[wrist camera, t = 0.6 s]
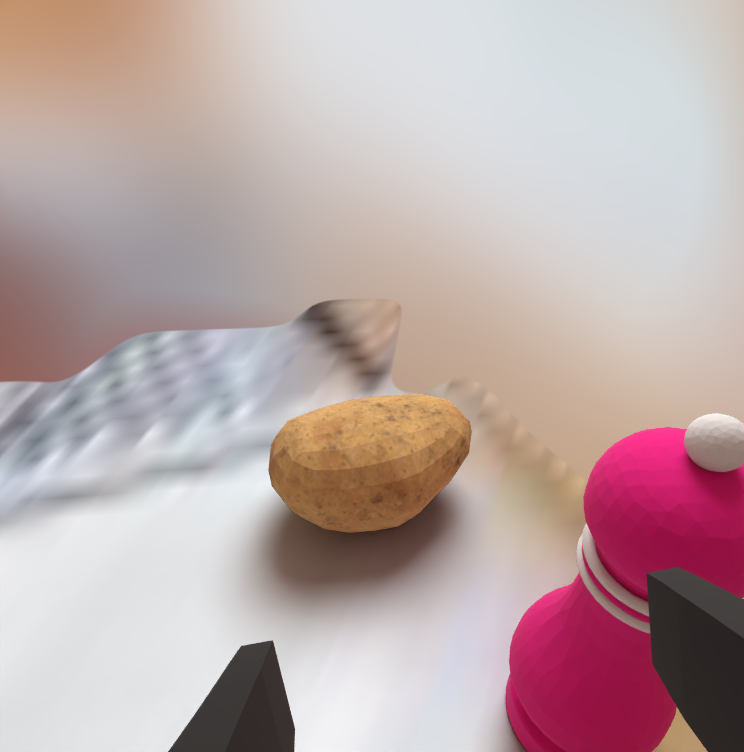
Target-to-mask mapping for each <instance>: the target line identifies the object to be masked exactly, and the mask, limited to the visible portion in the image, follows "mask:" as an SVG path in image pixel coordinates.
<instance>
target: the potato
mask: <svg viewBox="0 0 744 752" xmlns="http://www.w3.org/2000/svg"><path fill="white" fill-rule="evenodd" d="M471 433H472V431H471V426H470V421H469V420H468V419H467V418H466V417H465V416H464V415H463V414H462V413H461V412H460V411H459V410H458V408H457V407H456V406H455V405H454V404H453V403H451V402H450V401H448V400H446V399H442V398H437V397H433V396H428V395H424V394H409V395H393V396H380V397H369V398H361V399H353V400H349V401H345V402H342V403H338V404H334V405H330V406H327V407H324V408H321V409H318V410H315V411H312V412H309V413H306V414H304V415H301V416H299V417H296V418H294V419H291V420H289V421H287V423H286V424H285V425H284V427H283V428H282V429H281V430H280V432H279V433H278V434H277V436H276V437H275V439H274V441H273V443H272V445H271V450H270V461H269V475H270V479H271V484H272V487H273V488H274V489H275V491H276V492H277V493H278V494H279V496H280V497H281V498H282V500H283V501H284V502H285V504H286V505H287V506H288V507H289V509H290V510H292V511H293V512H294V513H296V514H297V515H299V516H300V517H301V518H303V519H305V520H307V521H309V522H311V523H313V524H315V525H317V526H319V527H321V528H323V529H328V530H334V531H341V532H348V533H352V532H363V531H375V530H381V529H386V528H392V527H397V526H400V525H401V524H403V523H405V522H406V521H408V520H410V519H411V518H413V517H414V516H416V515H418V514H419V513H420V512H421V511H422V510H423V509H424V508H425V507H426V505H427V504H428V503H429V502H430V501H431V500H432V499H433V498H434V497H435V496H436V495H437V494H438V493H439V492H440V491H441V490H442V489H443V488H444V487H445V486H446V485H447V484H448V483H449V482H450V481H451V479H452V478H453V476H454V475H455V474H456V472H457V471H458V469H459V467H460V466H461V464H462V463H463V461H464V460H465V458H466V457H467V455H468V453H469V448H470V440H471Z"/></svg>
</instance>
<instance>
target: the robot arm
mask: <svg viewBox="0 0 744 752" xmlns="http://www.w3.org/2000/svg"><path fill="white" fill-rule="evenodd" d="M646 574H647V590H648V605H649V621H650V636H651V652H652V664H653V666H654V668H655V670H656V671H657V673H658V675H659V677H660V678H661V680H662V682H663V684H664V685H665V687H666V689H667V691H668V693H669V694H670V696H671V698H672V699H673V701H674V703H675V704H676V706H677V708H678V709H679V711H680V713H681V714H682V716H683V718H684V719H685V721H686V722H687V723H688V725H689V726H690V728H691V729H692V730H693V732H694V733H695V735H696V736H697V737H698V739H699V740H700V741H701V743H702V744H703V746H704V747H705V748H706V750H707V751H708V752H744V599H742V598H740V597H738V596H736V595H734V594H732V593H730V592H728V591H726V590H724V589H722V588H720V587H718V586H716V585H714V584H712V583H710V582H708V581H706V580H704V579H702V578H700V577H698V576H696V575H694V574H692V573H690V572H688V571H686V570H683V569H681V568H679V567H676V568H671V569H665V570H660V571H654V572H649V573H646ZM294 741H295V727H294V723H293V719H292V715H291V711H290V707H289V703H288V699H287V695H286V691H285V687H284V683H283V679H282V675H281V671H280V667H279V663H278V659H277V655H276V651H275V647H274V643H273V641H267V642H262V643H256V644H250V645H245V646H241V647H240V649H239V650H238V651H237V653H236V654H235V656H234V657H233V658H232V660H231V661H230V663H229V664H228V666H227V667H226V669H225V670H224V672H223V673H222V675H221V676H220V678H219V679H218V681H217V682H216V684H215V685H214V687H213V688H212V690H211V691H210V693H209V694H208V696H207V697H206V699H205V700H204V702H203V703H202V705H201V706H200V708H199V709H198V711H197V712H196V713H195V715H194V716H193V718H192V719H191V720H190V722H189V723H188V725H187V726H186V728H185V729H184V730H183V732H182V733H181V735H180V736H179V737H178V739H177V740H176V742H175V743H174V745H173V746H172V747H171V749H170V750H169V751H168V752H294Z"/></svg>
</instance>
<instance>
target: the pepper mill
mask: <svg viewBox="0 0 744 752" xmlns="http://www.w3.org/2000/svg"><path fill="white" fill-rule="evenodd" d="M584 513H585V519H586V525H585V527H584V530H583V534H582V535H581V537H580V539H579V542H578V545H577V551H576V560H577V566H578V569H579V574H578V575H577V577H576V579H575V580H574V582H573V583H572V584H570V585H568V586H565V587H562V588H559V589H556V590H554V591H552V592H550V593H548V594H546V595H544V596H543V597H542V598H540V599H539V600H538V601H537V602H535V603H534V604H533V605H532V606H531V607H530V608H529V609H528V610H527V611H526V613H525V614H524V615H523V617H522V619H521V621H520V622H519V624H518V626H517V628H516V630H515V632H514V635H513V637H512V642H511V646H510V658H509V664H510V675H509V678H508V681H507V686H506V707H507V713H508V716H509V719H510V723H511V725H512V727H513V730H514V732H515V734H516V736H517V737H518V739H519V741H520V742H521V743H522V745H523V746H524V748H525V749H526V750H527V751H528V752H651V751H653V750H654V749H655V748H656V747H657V746H658V745H659V743H660V742H661V741H662V739H663V738H664V736H665V734H666V733H667V731H668V729H669V727H670V726H671V723H672V721H673V719H674V716H675V713H676V707H677V706H676V704H675V703H674V701H673V699H672V698H671V696H670V694H669V693H668V691H667V689H666V687H665V685H664V684H663V682H662V680H661V678H660V677H659V675H658V673H657V671H656V670H655V668H654V666H653V664H652V652H651V636H650V621H649V605H648V590H647V574H646V573H649V572H654V571H660V570H665V569H671V568H676V567H679V568H681V569H683V570H686V571H688V572H690V573H692V574H694V575H696V576H698V577H700V578H702V579H704V580H706V581H708V582H710V583H712V584H714V585H716V586H718V587H720V588H722V589H724V590H726V591H728V592H730V593H732V594H734V595H736V596H738V597H740V598H744V424H743V423H741V422H740V421H738V420H737V419H736V418H733V417H731V416H728V415H724V414H709V415H705V416H701V417H700V418H697V419H696V420H694V421H693V422H692V423H691V424H690V425H689V427H688V429H679V428H671V427H665V428H656V429H647V430H644V431H640V432H637V433H634V434H632V435H630V436H628V437H626V438H624V439H622V440H620V441H619V442H617V443H615V444H614V445H613V446H612V447H610V448H609V449H608V450H607V451H606V452H605V453H604V455H603V456H602V457H601V458H600V459H599V460H598V461H597V463H596V464H595V466H594V468H593V470H592V472H591V474H590V477H589V480H588V483H587V486H586V490H585V494H584Z"/></svg>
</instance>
